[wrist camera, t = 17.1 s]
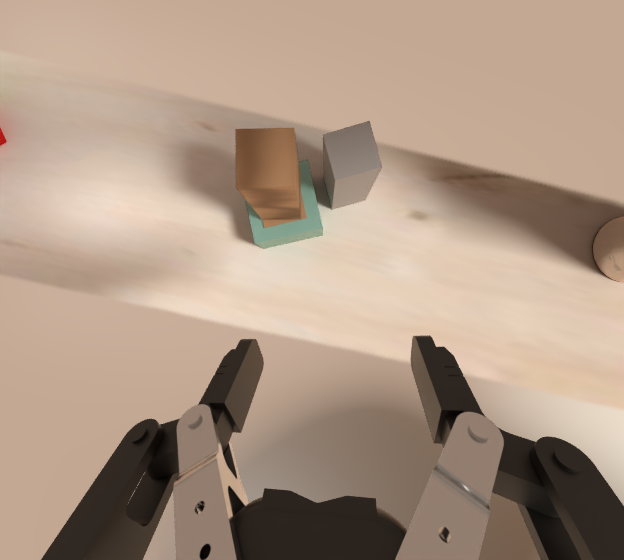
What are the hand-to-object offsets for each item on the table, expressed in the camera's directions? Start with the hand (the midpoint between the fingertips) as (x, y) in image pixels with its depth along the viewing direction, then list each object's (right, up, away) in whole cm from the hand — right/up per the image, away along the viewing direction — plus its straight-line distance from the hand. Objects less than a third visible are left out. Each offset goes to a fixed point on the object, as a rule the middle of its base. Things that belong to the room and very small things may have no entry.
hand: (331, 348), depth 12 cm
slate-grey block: (+4, +17, +22) cm, 28 cm away
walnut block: (-5, +14, +18) cm, 23 cm away
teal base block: (-5, +14, +23) cm, 27 cm away
